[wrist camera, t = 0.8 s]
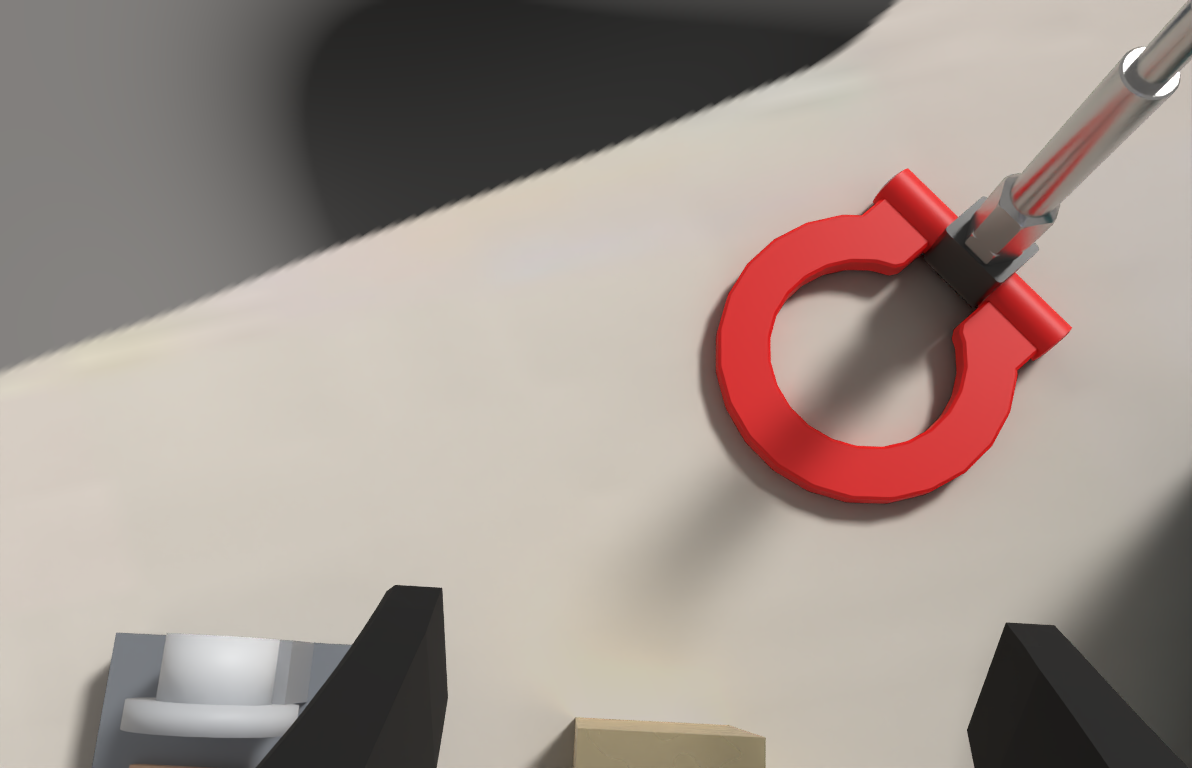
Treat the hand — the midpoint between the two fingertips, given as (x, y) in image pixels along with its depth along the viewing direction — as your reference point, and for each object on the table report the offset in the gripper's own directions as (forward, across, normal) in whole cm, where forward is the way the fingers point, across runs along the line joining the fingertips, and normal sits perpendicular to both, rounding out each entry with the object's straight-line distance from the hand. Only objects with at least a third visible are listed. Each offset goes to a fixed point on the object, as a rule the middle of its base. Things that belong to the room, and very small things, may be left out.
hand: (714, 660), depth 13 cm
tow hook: (+16, -6, +4) cm, 18 cm away
